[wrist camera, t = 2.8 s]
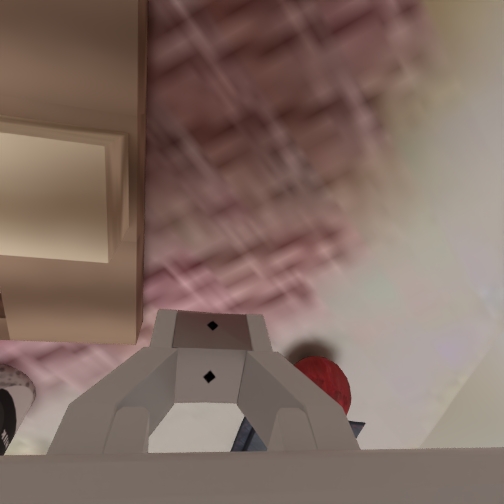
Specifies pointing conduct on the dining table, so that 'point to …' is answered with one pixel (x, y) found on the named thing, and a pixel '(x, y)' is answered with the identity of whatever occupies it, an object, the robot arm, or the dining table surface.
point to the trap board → (87, 115)
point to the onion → (327, 378)
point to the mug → (13, 402)
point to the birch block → (62, 190)
